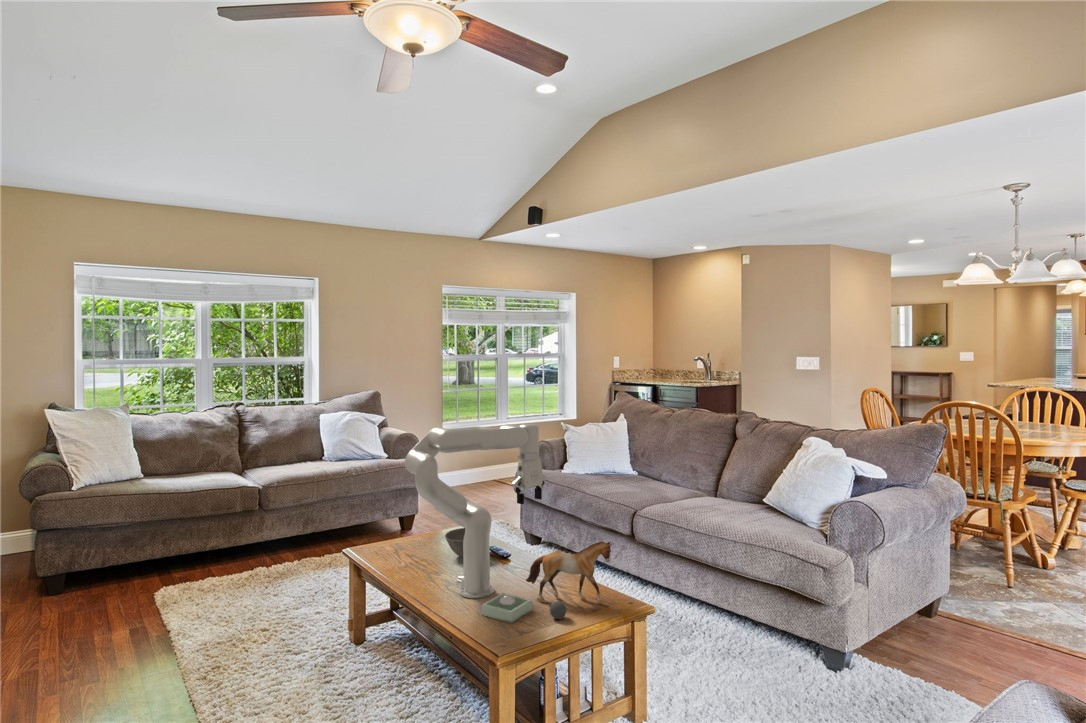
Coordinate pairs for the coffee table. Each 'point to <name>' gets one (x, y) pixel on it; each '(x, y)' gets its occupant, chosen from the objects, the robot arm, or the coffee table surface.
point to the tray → (496, 612)
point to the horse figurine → (570, 566)
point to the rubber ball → (558, 610)
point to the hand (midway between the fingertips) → (529, 501)
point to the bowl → (456, 540)
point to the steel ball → (507, 602)
